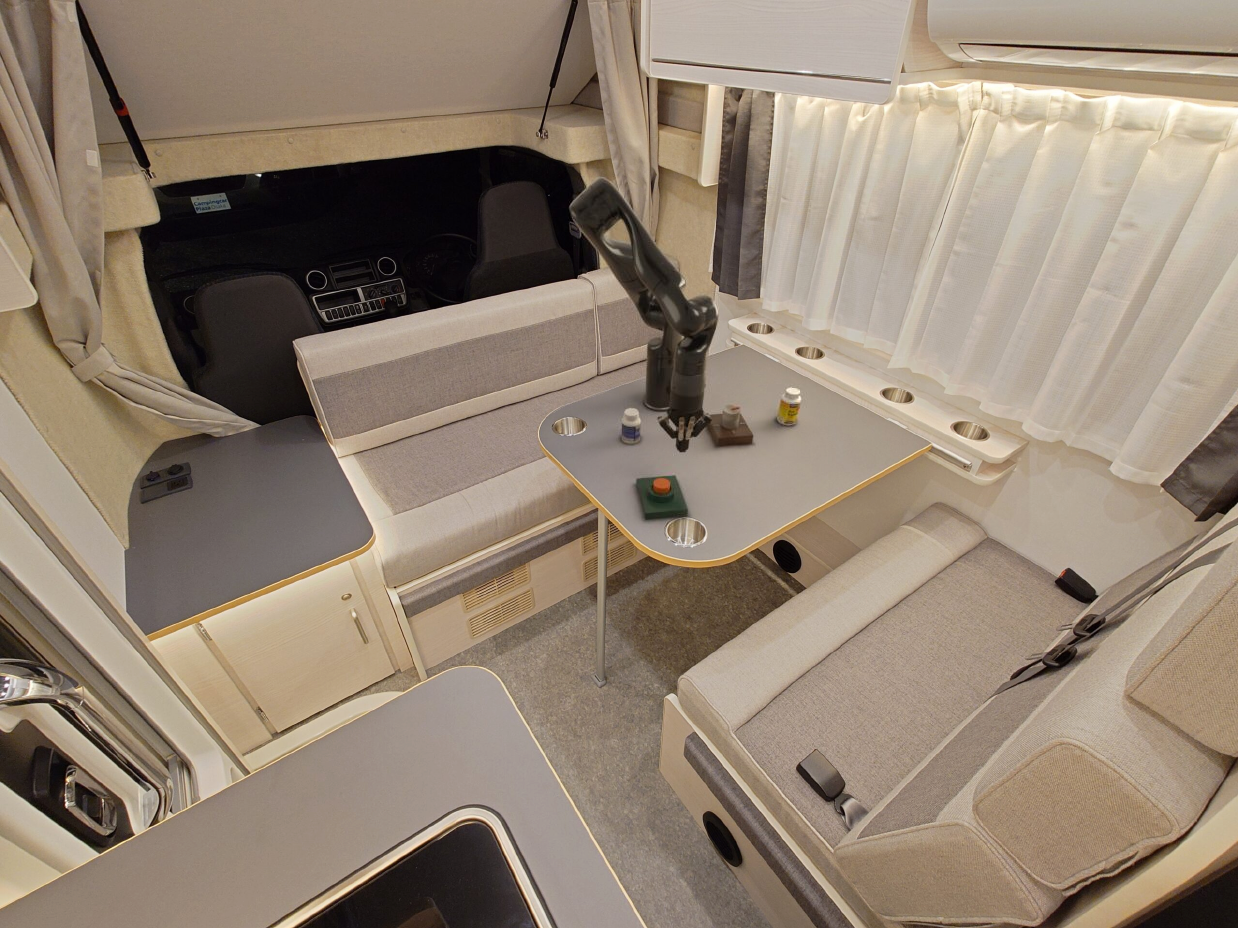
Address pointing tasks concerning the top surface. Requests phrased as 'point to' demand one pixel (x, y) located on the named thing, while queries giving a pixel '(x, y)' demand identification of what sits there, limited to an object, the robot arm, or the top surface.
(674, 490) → the switch block
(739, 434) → the dial panel
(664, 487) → the button
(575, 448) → the top surface
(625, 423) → the pill bottle
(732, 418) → the dial
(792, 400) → the supplement bottle
